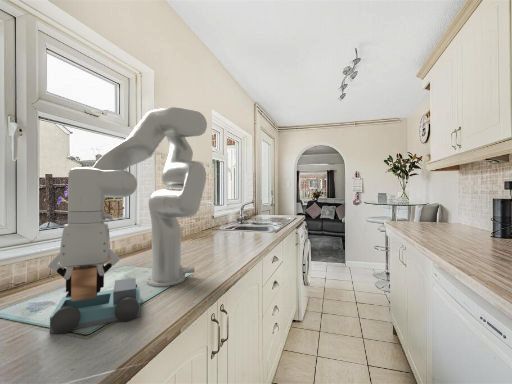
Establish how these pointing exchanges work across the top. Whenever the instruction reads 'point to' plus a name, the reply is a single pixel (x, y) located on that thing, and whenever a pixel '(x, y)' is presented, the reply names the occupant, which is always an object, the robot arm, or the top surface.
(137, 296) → the chassis
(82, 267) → the orange block with knob
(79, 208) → the robot arm
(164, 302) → the top surface
